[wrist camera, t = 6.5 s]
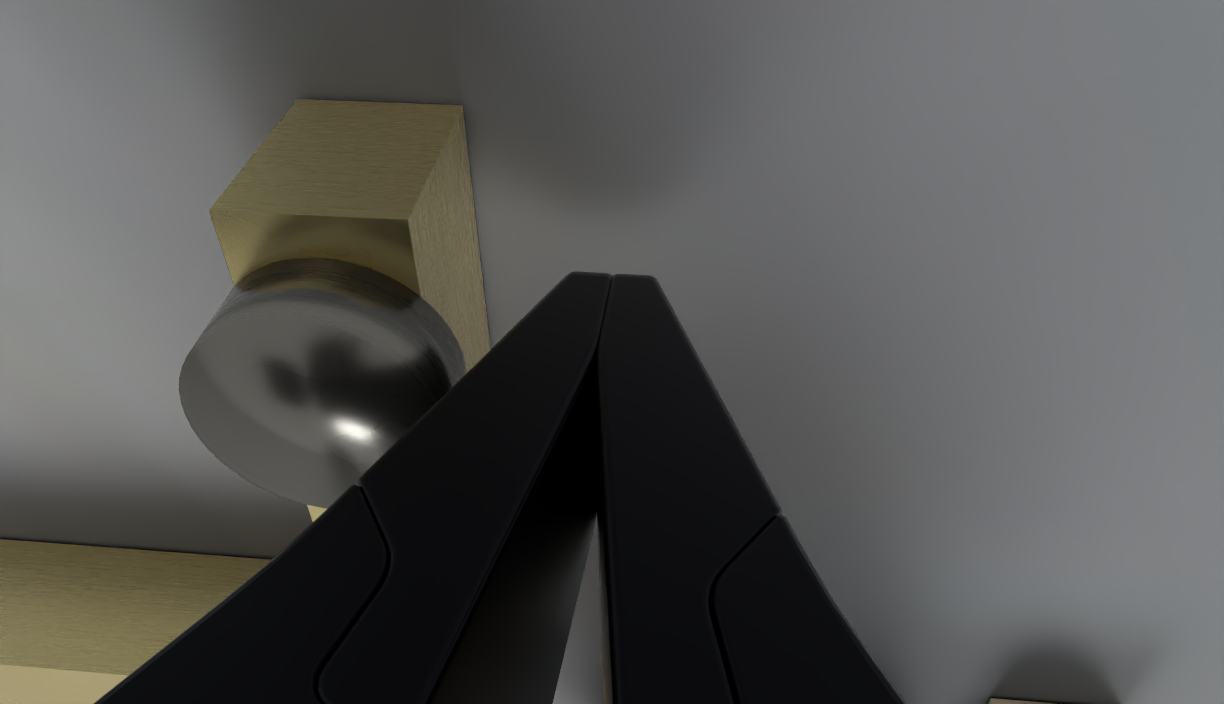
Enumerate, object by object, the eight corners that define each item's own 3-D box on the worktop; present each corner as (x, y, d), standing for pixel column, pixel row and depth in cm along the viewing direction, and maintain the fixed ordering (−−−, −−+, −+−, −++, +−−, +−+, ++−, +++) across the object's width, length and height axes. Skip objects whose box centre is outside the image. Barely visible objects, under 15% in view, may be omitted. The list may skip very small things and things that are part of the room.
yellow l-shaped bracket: (494, 106, 9) (420, 284, 7) (542, 626, 14) (510, 812, 12) (-414, 70, 9) (-750, 221, 7) (-30, 581, 15) (-154, 749, 13)
